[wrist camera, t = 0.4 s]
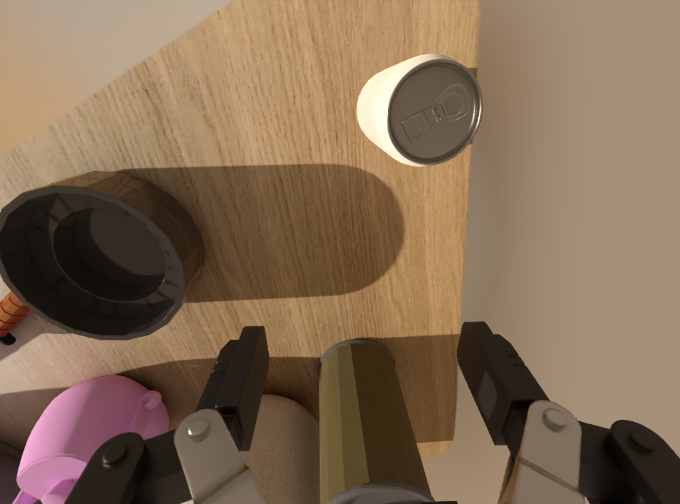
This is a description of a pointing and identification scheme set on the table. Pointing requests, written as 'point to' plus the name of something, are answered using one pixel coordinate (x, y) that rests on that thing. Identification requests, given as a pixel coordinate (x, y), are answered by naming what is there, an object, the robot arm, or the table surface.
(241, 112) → the table surface
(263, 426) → the planter
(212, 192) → the table surface
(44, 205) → the bowl
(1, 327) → the knife
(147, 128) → the table surface
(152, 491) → the robot arm
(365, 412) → the canister
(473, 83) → the can
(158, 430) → the teapot
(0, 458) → the bluetooth speaker
